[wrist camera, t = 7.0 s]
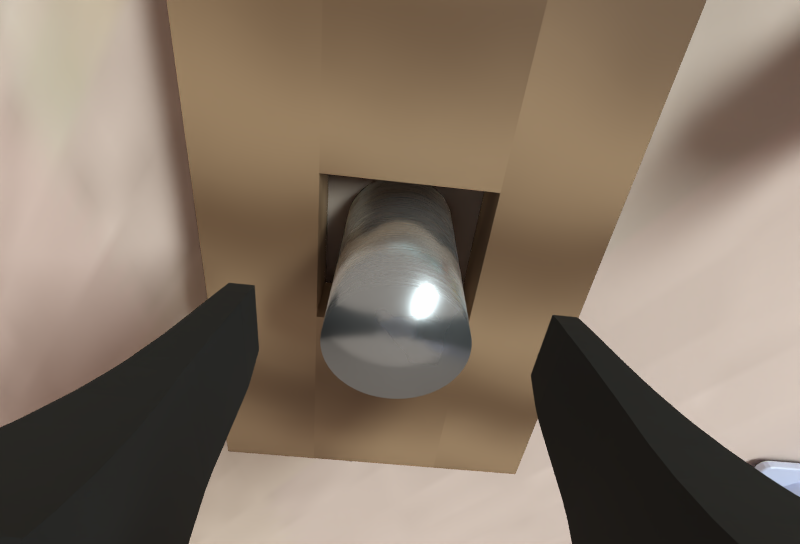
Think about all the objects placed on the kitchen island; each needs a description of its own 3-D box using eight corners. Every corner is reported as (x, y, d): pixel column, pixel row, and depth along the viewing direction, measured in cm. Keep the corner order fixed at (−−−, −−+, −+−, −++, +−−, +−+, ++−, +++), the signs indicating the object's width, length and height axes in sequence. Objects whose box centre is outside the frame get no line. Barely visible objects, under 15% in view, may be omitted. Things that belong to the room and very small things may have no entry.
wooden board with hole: (507, 434, 22) (515, 474, 20) (242, 412, 21) (228, 451, 20) (710, -128, 11) (764, -144, 9) (178, -206, 10) (133, -238, 9)
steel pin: (442, 273, 17) (456, 404, 12) (344, 262, 17) (317, 391, 12) (460, 183, 15) (487, 294, 10) (351, 169, 15) (322, 276, 10)
